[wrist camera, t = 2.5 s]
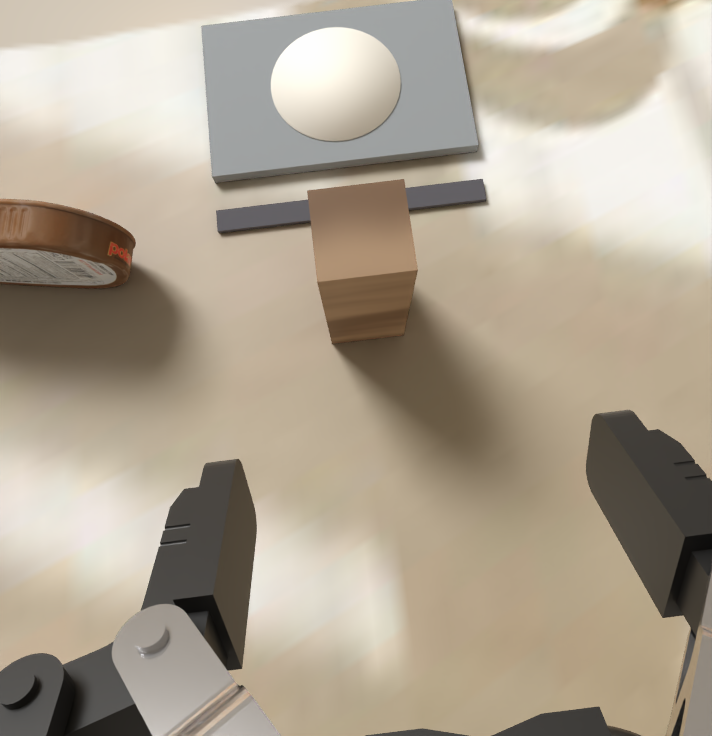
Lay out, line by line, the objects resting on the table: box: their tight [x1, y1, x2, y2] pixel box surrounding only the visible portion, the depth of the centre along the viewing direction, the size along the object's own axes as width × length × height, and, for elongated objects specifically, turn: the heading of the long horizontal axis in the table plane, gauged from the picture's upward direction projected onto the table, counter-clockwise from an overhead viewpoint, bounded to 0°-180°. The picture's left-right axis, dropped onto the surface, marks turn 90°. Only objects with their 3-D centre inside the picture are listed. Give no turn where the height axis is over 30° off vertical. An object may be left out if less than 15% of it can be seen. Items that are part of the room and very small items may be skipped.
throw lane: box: [201, 0, 486, 233], centre depth 40 cm, size 16×18×1 cm
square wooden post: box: [307, 179, 418, 344], centre depth 32 cm, size 5×5×11 cm
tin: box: [0, 199, 136, 288], centre depth 35 cm, size 15×3×8 cm, turn 86°
